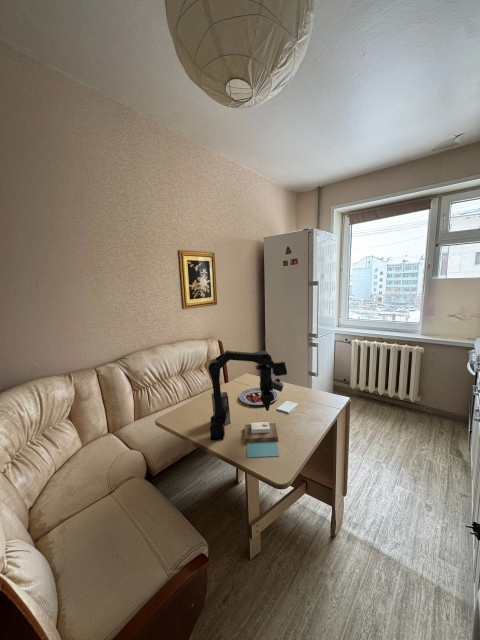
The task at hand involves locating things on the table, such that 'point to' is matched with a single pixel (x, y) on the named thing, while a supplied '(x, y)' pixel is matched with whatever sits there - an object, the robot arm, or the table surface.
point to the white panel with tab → (260, 427)
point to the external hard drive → (287, 407)
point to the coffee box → (224, 402)
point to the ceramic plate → (254, 396)
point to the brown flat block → (261, 434)
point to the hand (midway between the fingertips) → (266, 406)
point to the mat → (262, 449)
